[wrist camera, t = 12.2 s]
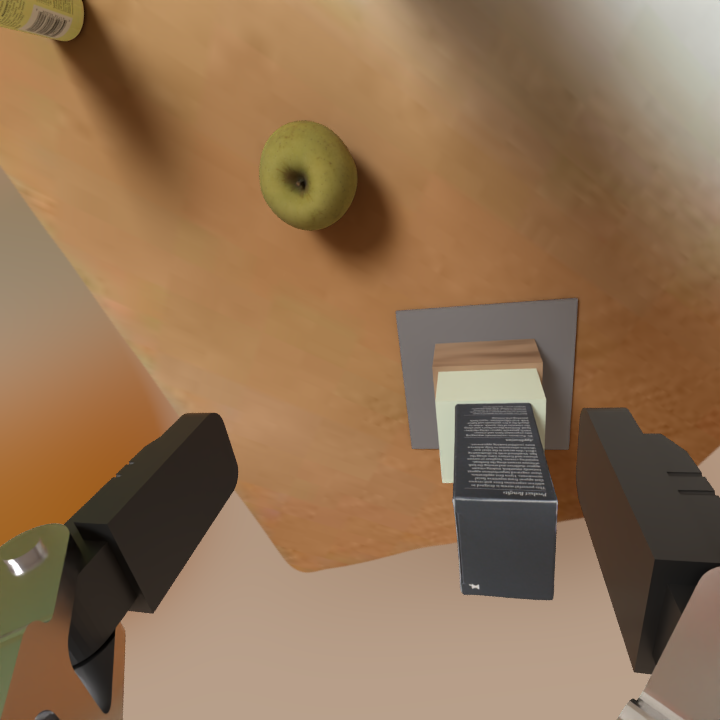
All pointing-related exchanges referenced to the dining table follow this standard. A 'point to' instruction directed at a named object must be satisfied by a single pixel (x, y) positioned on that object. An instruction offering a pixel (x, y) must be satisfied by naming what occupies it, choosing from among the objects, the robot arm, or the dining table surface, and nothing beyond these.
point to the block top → (483, 390)
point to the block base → (486, 356)
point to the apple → (307, 175)
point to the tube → (43, 17)
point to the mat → (489, 323)
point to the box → (503, 503)
